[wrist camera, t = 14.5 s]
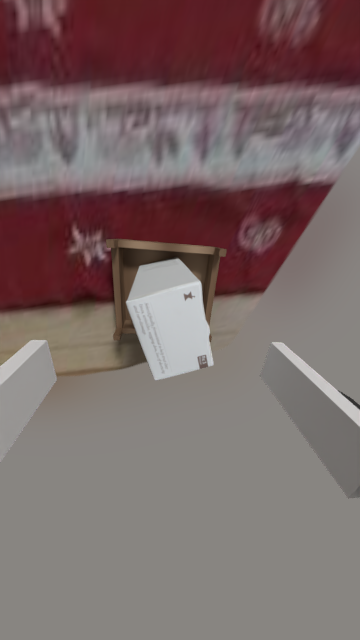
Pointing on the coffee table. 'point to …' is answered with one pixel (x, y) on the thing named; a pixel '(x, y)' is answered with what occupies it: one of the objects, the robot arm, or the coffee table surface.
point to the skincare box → (170, 318)
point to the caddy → (144, 252)
